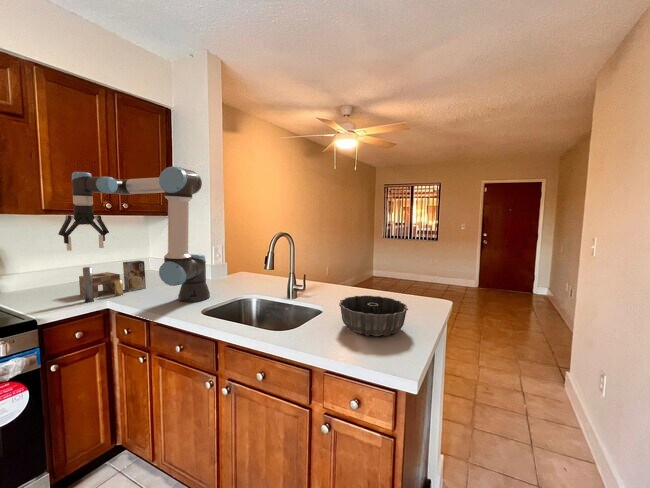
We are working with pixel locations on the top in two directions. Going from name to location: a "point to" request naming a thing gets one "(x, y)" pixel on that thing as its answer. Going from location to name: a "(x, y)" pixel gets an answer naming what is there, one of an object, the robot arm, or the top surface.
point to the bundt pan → (373, 314)
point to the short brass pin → (118, 287)
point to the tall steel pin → (88, 284)
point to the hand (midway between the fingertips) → (86, 249)
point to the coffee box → (134, 275)
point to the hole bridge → (101, 282)
